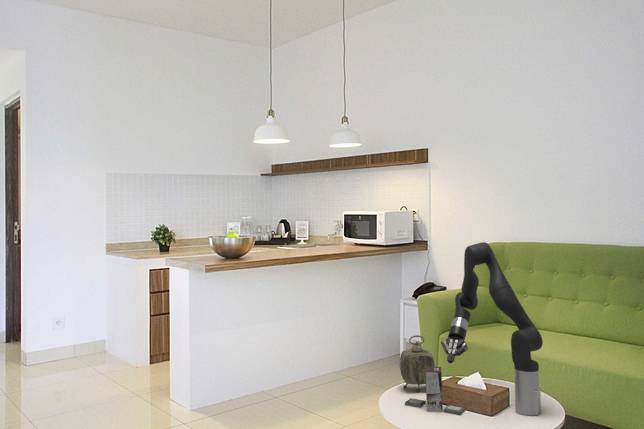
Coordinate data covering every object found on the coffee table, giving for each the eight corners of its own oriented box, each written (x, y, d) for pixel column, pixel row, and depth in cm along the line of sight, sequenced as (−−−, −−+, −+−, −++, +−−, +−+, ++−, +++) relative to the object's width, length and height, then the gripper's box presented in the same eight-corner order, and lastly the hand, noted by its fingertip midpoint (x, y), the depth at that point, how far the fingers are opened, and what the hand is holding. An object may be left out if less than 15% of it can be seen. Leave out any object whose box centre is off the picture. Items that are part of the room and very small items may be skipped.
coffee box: (442, 412, 225) (441, 372, 225) (426, 411, 226) (425, 372, 226) (442, 404, 234) (441, 366, 234) (426, 403, 235) (425, 365, 235)
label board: (465, 410, 226) (465, 407, 226) (460, 415, 221) (460, 411, 221) (410, 401, 239) (410, 397, 239) (404, 405, 234) (404, 401, 234)
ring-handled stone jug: (431, 386, 258) (429, 333, 258) (436, 392, 249) (435, 337, 249) (400, 387, 257) (399, 334, 257) (404, 394, 248) (403, 338, 248)
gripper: (442, 323, 257) (433, 355, 247) (470, 326, 250) (462, 359, 240) (447, 332, 262) (437, 365, 252) (474, 335, 255) (466, 368, 244)
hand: (449, 362), depth 246 cm, fingers closed
